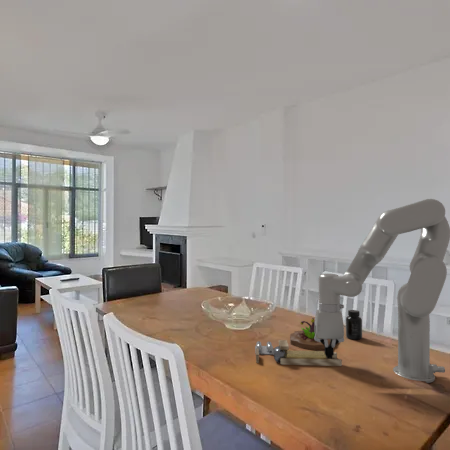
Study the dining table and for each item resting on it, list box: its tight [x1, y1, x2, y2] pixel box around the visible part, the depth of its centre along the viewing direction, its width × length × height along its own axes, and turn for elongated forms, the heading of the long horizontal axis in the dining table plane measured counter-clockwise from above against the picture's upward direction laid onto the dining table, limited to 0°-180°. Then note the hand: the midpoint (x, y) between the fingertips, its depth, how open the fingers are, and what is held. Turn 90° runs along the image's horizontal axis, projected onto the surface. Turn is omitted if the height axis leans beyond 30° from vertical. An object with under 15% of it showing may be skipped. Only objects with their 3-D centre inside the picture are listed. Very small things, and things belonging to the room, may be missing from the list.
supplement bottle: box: [345, 309, 363, 341], centre depth 158 cm, size 7×7×12 cm
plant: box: [289, 317, 331, 351], centre depth 152 cm, size 20×20×11 cm
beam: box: [255, 339, 343, 367], centre depth 131 cm, size 30×8×6 cm, turn 86°
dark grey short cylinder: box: [273, 345, 286, 364], centre depth 132 cm, size 5×4×4 cm
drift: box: [286, 350, 327, 359], centre depth 130 cm, size 14×4×4 cm, turn 87°
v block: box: [254, 341, 274, 356], centre depth 142 cm, size 8×7×3 cm
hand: (329, 357), depth 131 cm, fingers closed
